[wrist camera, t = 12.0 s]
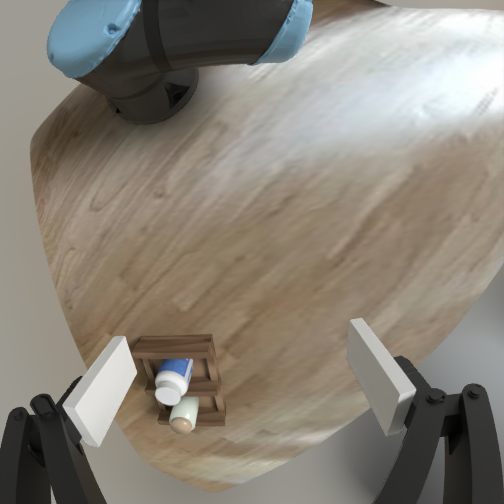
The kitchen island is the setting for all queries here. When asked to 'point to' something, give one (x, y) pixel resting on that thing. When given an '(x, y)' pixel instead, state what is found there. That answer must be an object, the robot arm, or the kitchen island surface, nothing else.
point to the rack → (202, 377)
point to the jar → (184, 415)
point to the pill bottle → (173, 380)
